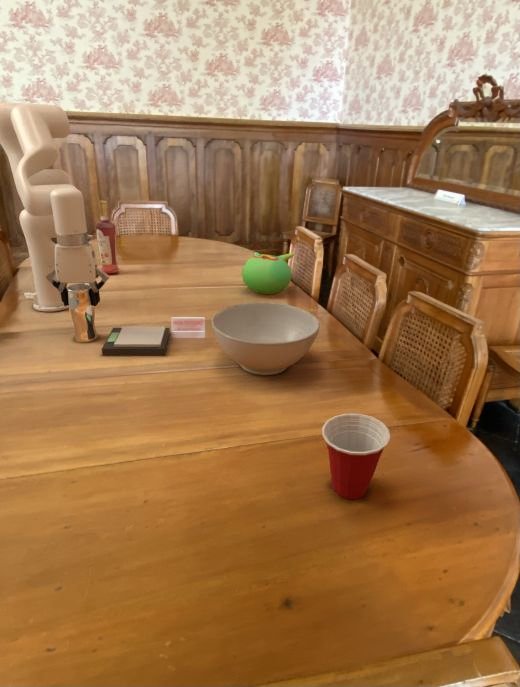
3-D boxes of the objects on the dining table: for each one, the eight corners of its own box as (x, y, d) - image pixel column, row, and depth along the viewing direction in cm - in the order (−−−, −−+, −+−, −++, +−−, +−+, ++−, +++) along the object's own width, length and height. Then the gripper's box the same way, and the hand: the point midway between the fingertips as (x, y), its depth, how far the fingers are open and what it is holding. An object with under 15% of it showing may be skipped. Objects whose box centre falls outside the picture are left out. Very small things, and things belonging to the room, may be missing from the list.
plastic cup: (310, 467, 85) (316, 411, 80) (369, 465, 86) (378, 410, 81) (323, 512, 75) (330, 452, 70) (388, 509, 76) (400, 450, 71)
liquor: (123, 272, 190) (117, 201, 178) (109, 277, 184) (101, 203, 172) (111, 269, 193) (103, 199, 181) (96, 273, 187) (88, 201, 176)
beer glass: (91, 344, 128) (84, 292, 122) (68, 341, 130) (60, 289, 123) (103, 334, 135) (97, 284, 128) (81, 331, 136) (74, 282, 129)
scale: (102, 355, 123) (101, 345, 122) (113, 333, 135) (112, 324, 134) (164, 355, 124) (163, 345, 123) (170, 333, 137) (169, 325, 135)
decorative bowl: (325, 351, 129) (329, 310, 124) (301, 399, 106) (305, 351, 101) (235, 335, 137) (235, 296, 131) (193, 377, 114) (192, 331, 108)
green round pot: (234, 295, 169) (235, 255, 163) (252, 282, 183) (253, 245, 177) (281, 302, 163) (283, 261, 157) (296, 289, 177) (299, 250, 171)
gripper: (110, 236, 124) (117, 300, 132) (42, 235, 123) (53, 299, 131) (103, 243, 118) (111, 309, 125) (32, 242, 116) (43, 309, 124)
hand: (81, 304), depth 128 cm, fingers closed on beer glass, 7 cm apart
